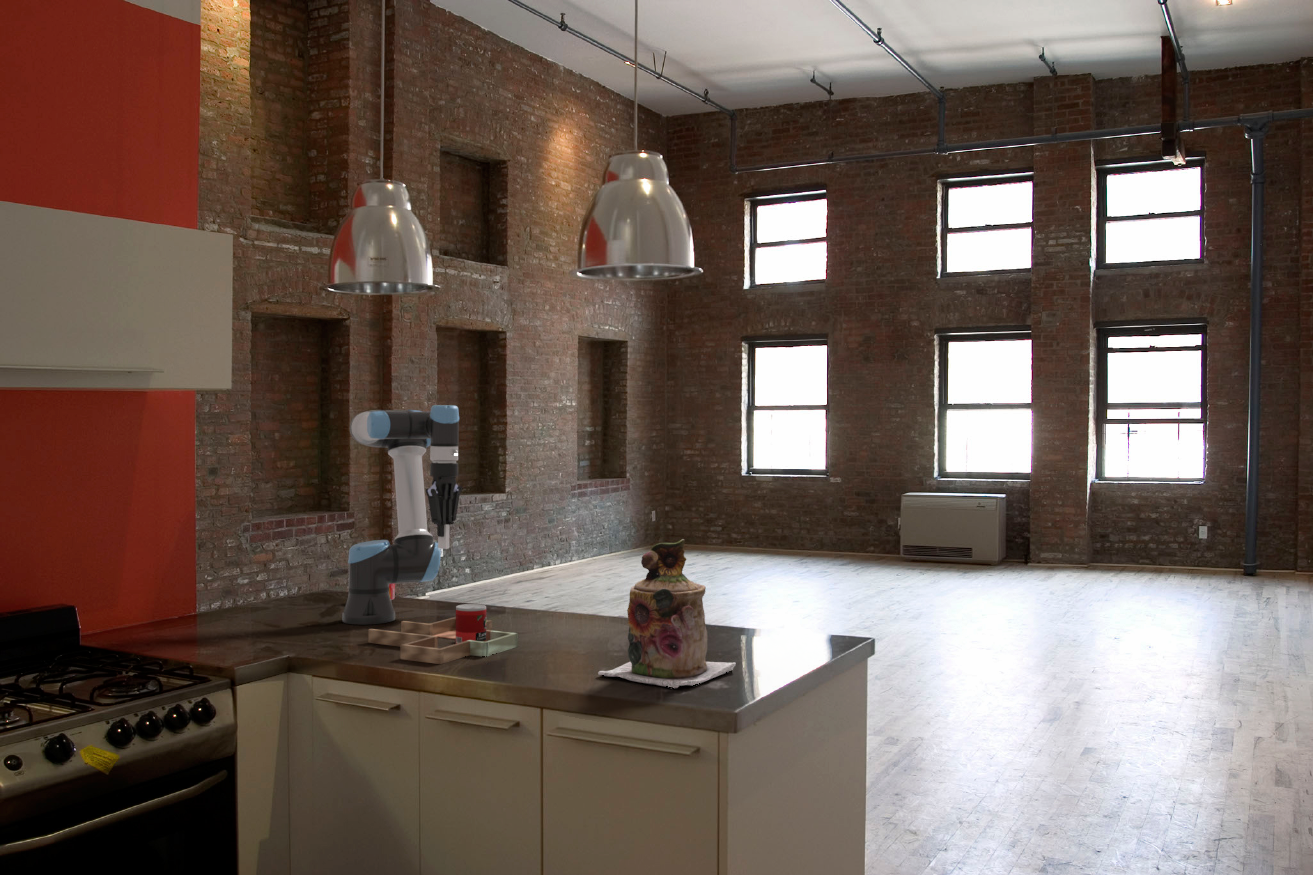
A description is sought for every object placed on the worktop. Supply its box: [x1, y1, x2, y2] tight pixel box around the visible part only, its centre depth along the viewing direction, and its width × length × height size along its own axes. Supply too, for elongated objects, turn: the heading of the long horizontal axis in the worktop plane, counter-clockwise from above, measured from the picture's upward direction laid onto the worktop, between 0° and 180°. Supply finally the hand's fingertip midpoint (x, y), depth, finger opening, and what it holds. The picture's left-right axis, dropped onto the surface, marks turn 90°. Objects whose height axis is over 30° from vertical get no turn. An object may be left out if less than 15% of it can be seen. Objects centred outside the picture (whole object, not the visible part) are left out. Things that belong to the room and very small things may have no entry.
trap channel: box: [367, 616, 519, 665], centre depth 292 cm, size 38×38×4 cm
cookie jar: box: [597, 538, 736, 689], centre depth 259 cm, size 25×25×32 cm
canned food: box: [455, 603, 487, 644], centre depth 288 cm, size 8×8×11 cm
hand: (443, 548), depth 301 cm, fingers closed
